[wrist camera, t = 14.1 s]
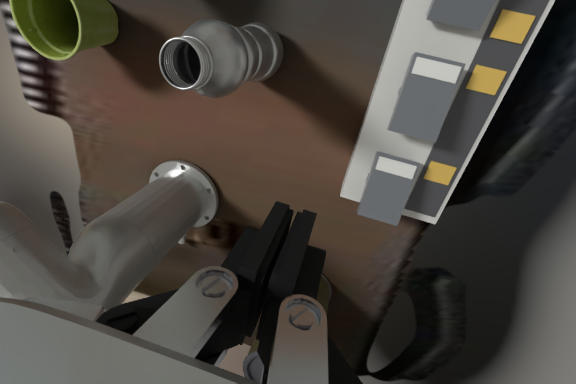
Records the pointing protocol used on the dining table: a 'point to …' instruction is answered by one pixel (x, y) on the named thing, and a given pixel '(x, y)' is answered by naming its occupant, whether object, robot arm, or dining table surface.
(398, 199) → the switch
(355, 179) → the switch unit
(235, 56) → the plastic bottle
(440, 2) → the switch
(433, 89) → the switch
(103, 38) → the plant pot
